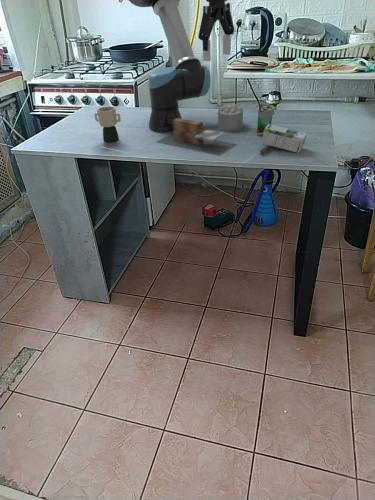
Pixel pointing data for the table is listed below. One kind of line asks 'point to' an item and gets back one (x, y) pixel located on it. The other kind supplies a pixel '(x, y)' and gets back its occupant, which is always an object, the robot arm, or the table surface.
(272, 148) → the bar
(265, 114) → the food container
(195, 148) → the tool mat
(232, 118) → the grey rounded piece
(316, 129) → the table surface
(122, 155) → the table surface
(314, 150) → the table surface
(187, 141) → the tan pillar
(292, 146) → the syrup box
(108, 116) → the trophy cup
